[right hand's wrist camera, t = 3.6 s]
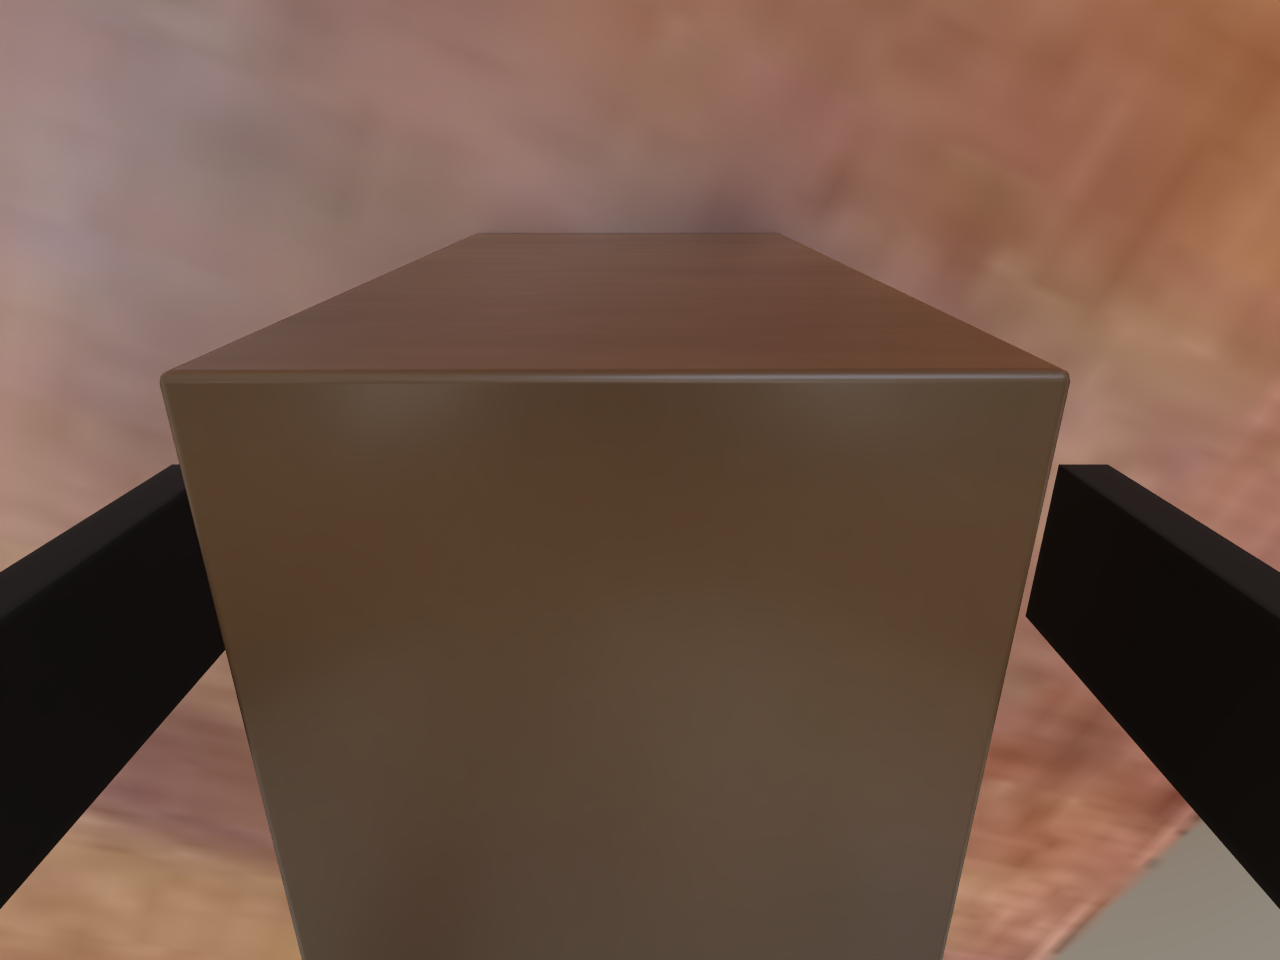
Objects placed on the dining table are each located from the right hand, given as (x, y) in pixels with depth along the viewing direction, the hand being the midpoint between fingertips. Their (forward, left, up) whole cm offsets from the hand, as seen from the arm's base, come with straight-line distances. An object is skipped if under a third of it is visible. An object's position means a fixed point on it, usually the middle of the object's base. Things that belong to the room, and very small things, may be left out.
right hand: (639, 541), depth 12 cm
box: (+7, +2, -5) cm, 9 cm away
